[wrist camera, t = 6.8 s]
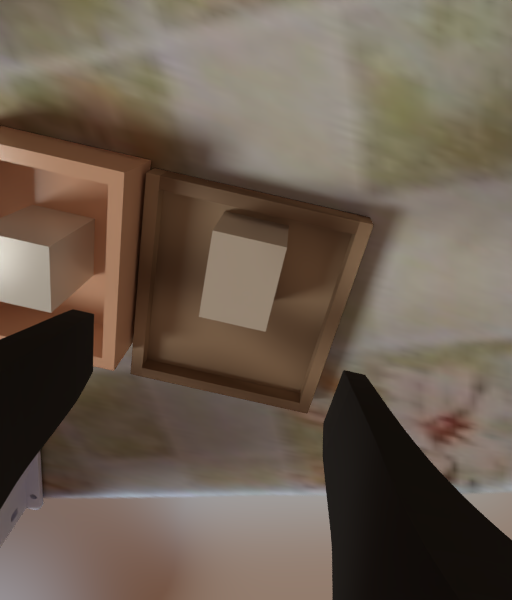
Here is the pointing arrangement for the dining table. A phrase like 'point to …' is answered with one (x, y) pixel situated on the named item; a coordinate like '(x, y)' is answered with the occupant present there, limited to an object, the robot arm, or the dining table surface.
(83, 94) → the dining table surface
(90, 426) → the dining table surface
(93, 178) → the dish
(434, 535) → the robot arm
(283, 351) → the tray
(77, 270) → the stone grey
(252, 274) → the stone beige
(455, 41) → the dining table surface
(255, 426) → the dining table surface
